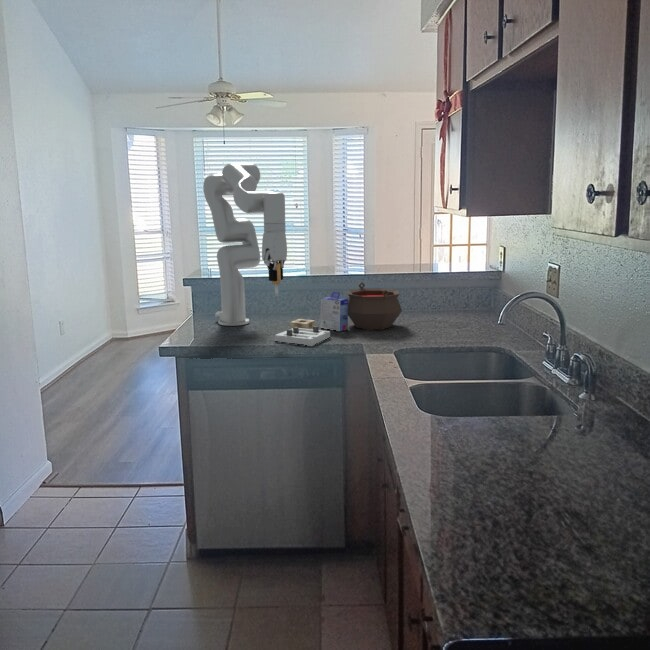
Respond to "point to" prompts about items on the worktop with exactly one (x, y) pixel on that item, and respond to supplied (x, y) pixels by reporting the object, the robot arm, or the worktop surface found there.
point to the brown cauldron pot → (373, 307)
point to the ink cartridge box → (334, 313)
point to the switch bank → (303, 337)
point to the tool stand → (302, 324)
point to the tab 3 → (316, 329)
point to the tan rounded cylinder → (277, 279)
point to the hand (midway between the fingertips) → (276, 279)
